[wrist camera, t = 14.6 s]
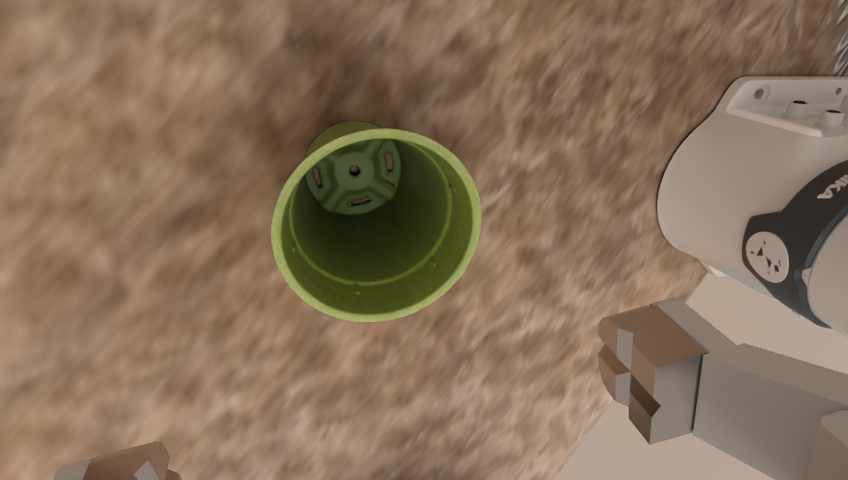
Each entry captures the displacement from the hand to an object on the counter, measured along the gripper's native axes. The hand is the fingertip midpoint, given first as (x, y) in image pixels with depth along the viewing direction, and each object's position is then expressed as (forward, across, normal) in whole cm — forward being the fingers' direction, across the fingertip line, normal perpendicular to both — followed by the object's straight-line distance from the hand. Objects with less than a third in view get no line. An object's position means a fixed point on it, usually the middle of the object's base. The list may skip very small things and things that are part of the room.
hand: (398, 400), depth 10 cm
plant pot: (+31, -2, +6) cm, 32 cm away
